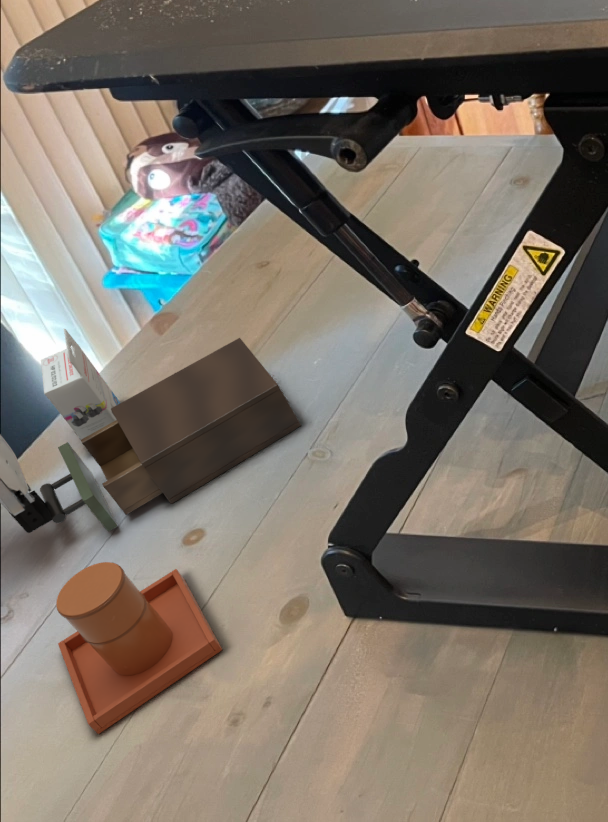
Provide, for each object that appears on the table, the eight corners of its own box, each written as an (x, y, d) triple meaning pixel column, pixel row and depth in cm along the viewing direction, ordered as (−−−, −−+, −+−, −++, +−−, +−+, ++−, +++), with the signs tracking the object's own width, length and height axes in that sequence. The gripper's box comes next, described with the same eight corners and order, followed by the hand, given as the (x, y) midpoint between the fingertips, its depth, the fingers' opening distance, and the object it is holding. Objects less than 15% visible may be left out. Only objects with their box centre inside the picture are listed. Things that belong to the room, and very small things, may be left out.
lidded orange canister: (120, 688, 111) (63, 628, 104) (103, 649, 115) (48, 589, 108) (181, 648, 114) (130, 586, 107) (163, 611, 118) (112, 550, 111)
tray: (98, 734, 107) (88, 724, 106) (67, 653, 116) (57, 643, 115) (222, 649, 113) (214, 639, 112) (184, 579, 122) (176, 568, 121)
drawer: (73, 552, 127) (47, 521, 123) (49, 496, 135) (24, 465, 132) (237, 454, 136) (216, 423, 132) (204, 407, 144) (184, 376, 141)
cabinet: (171, 504, 132) (141, 463, 127) (139, 448, 141) (110, 408, 136) (301, 425, 139) (277, 384, 135) (263, 377, 149) (239, 337, 144)
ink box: (85, 420, 148) (26, 342, 139) (122, 403, 149) (65, 325, 140) (90, 455, 141) (29, 376, 132) (129, 437, 143) (70, 358, 134)
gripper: (-97, 404, 121) (-3, 508, 132) (-79, 471, 111) (20, 576, 122) (-27, 369, 124) (58, 473, 136) (-4, 431, 114) (86, 537, 126)
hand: (40, 522), depth 129 cm, fingers closed
